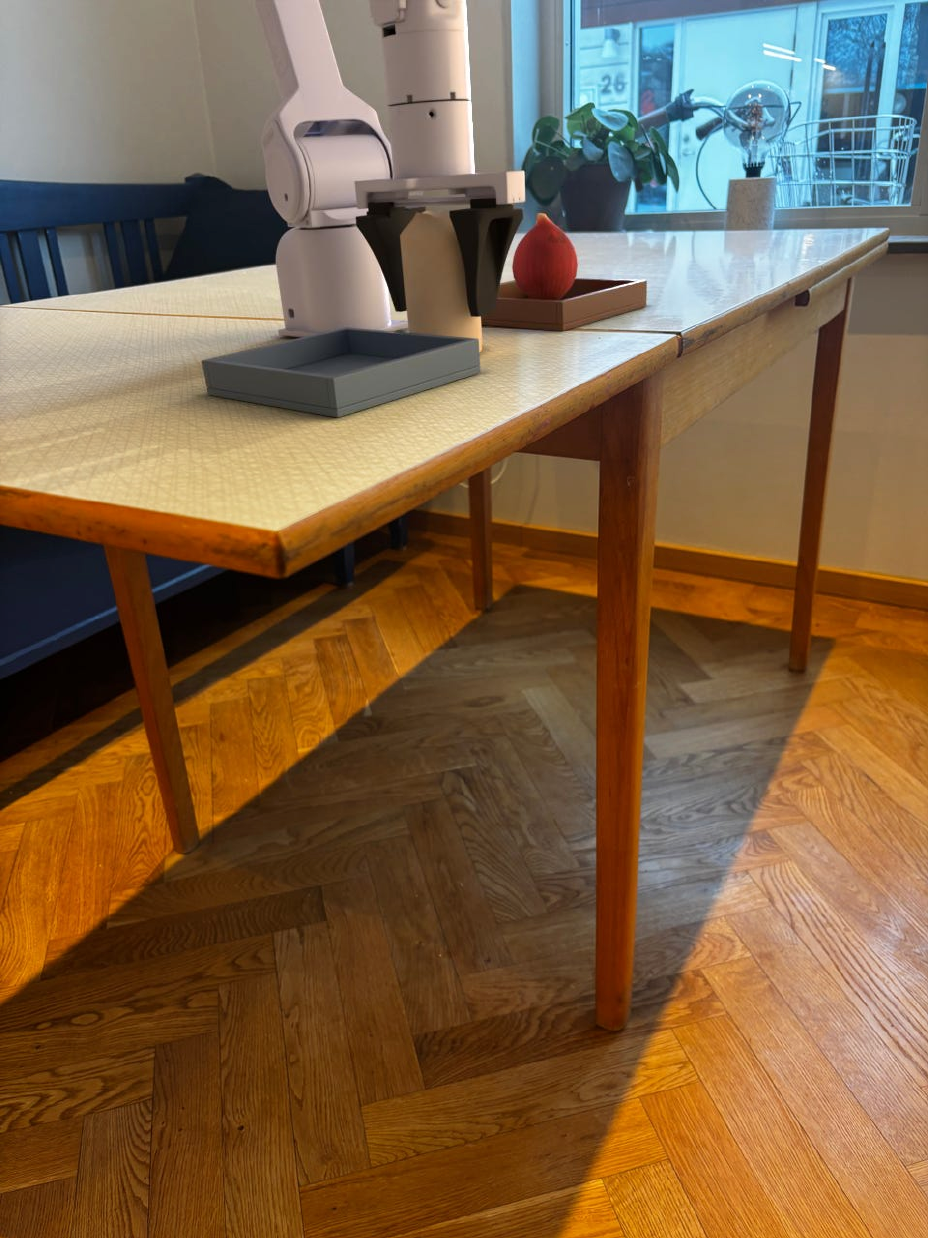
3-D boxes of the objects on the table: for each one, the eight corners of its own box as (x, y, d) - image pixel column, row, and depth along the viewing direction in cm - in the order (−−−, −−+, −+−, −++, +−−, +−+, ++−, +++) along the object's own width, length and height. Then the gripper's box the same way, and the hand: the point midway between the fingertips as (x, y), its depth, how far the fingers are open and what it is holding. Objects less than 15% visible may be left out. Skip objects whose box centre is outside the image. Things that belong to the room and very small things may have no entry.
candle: (429, 363, 66) (417, 214, 62) (399, 353, 71) (386, 212, 66) (495, 352, 69) (488, 207, 64) (462, 342, 73) (453, 206, 69)
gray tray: (207, 394, 62) (200, 360, 61) (350, 357, 71) (346, 326, 70) (337, 417, 54) (333, 378, 53) (481, 372, 63) (479, 338, 62)
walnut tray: (443, 322, 83) (441, 295, 82) (531, 300, 92) (530, 276, 91) (562, 331, 75) (562, 301, 74) (646, 306, 84) (647, 279, 83)
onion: (577, 302, 85) (577, 208, 82) (578, 311, 80) (578, 212, 77) (515, 305, 86) (512, 212, 82) (512, 315, 81) (508, 216, 77)
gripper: (314, 114, 64) (339, 315, 70) (471, 93, 55) (484, 326, 61) (386, 112, 69) (403, 301, 75) (541, 93, 60) (546, 309, 66)
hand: (443, 312), depth 68 cm, fingers open, 7 cm apart
